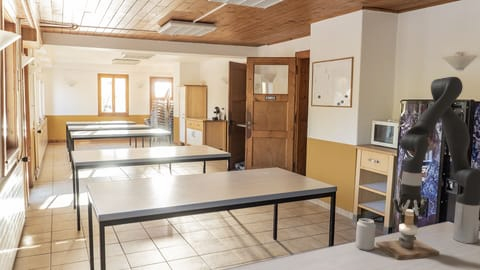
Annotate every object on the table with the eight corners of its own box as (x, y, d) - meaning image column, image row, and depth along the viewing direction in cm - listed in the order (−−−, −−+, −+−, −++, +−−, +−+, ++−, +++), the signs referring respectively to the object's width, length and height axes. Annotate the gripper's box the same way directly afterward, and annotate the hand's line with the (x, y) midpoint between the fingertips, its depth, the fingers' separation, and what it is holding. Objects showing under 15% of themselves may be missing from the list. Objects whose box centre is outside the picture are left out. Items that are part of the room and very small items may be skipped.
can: (370, 244, 163) (371, 217, 162) (376, 251, 156) (378, 223, 155) (352, 244, 163) (354, 217, 162) (359, 251, 156) (360, 222, 154)
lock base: (414, 242, 167) (416, 225, 166) (439, 255, 154) (440, 237, 153) (375, 245, 162) (376, 228, 161) (397, 259, 148) (398, 240, 148)
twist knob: (399, 227, 163) (400, 207, 162) (417, 229, 160) (418, 210, 159) (398, 234, 154) (400, 214, 153) (417, 237, 151) (419, 216, 150)
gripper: (426, 181, 158) (423, 221, 160) (391, 179, 160) (388, 219, 161) (433, 185, 151) (429, 227, 152) (396, 183, 152) (393, 225, 154)
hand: (408, 223), depth 157 cm, fingers closed on twist knob, 4 cm apart
